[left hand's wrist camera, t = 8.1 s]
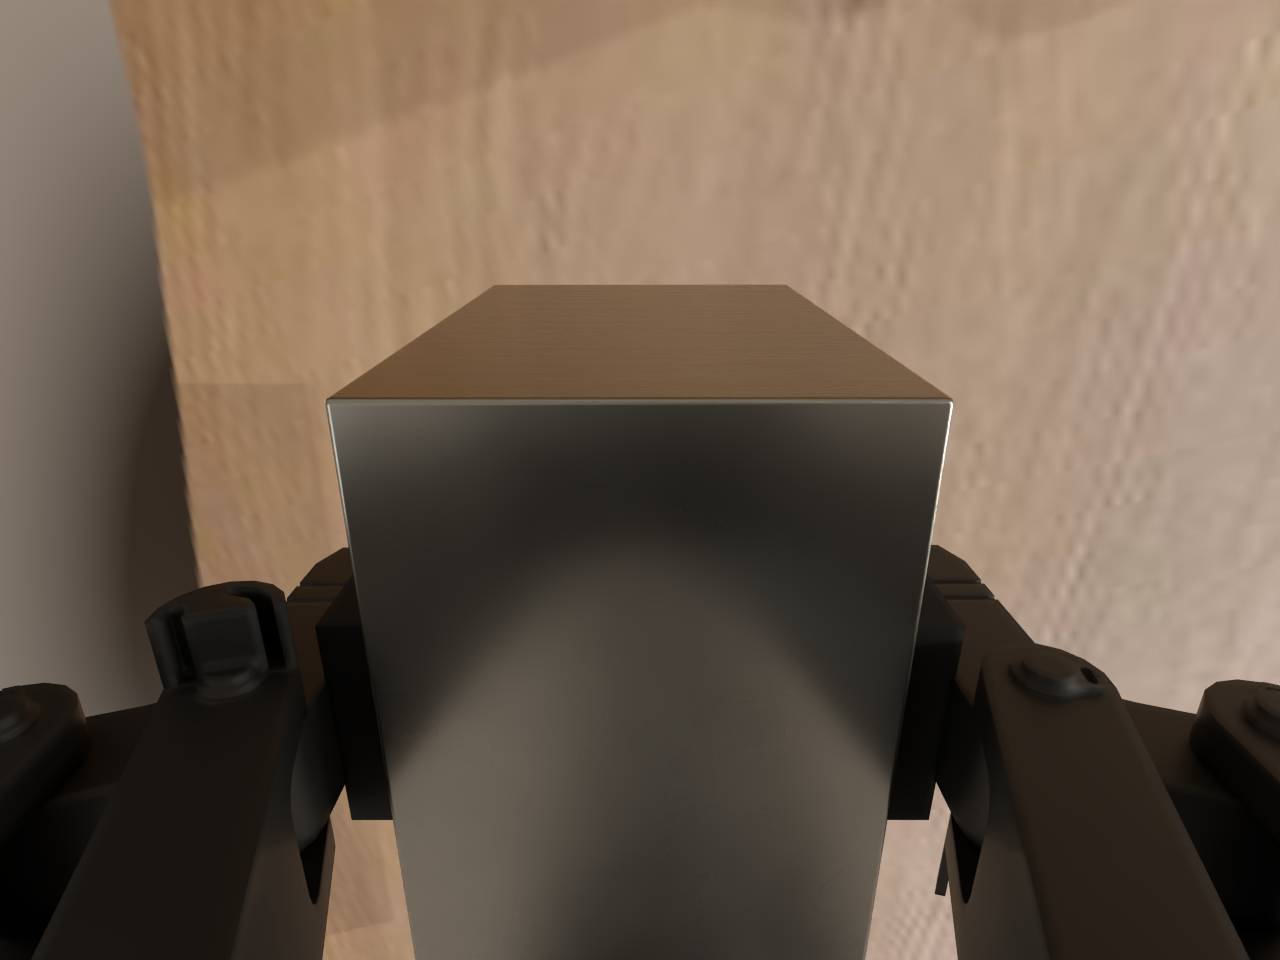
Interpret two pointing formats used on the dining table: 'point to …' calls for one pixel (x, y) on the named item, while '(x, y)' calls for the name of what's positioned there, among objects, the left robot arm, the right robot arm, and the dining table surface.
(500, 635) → the bar
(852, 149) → the dining table surface
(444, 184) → the dining table surface
